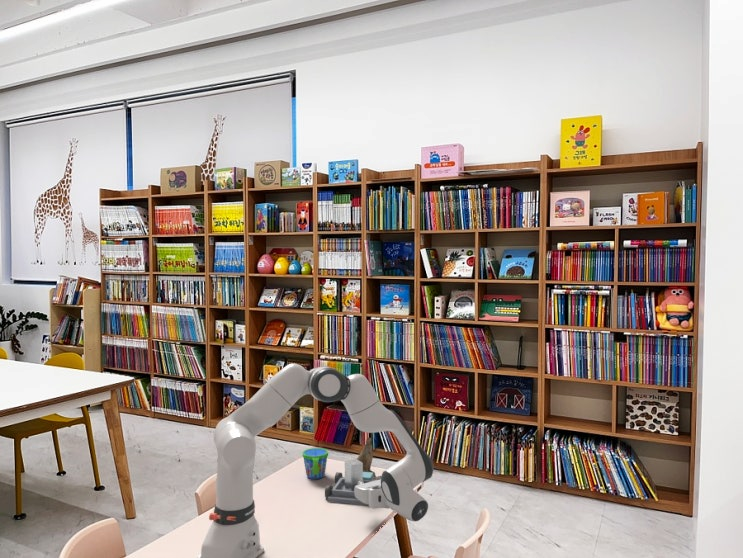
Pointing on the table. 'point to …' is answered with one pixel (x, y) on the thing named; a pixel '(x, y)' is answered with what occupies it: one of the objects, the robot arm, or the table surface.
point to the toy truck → (344, 495)
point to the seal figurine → (366, 456)
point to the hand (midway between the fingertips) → (370, 480)
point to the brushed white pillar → (353, 474)
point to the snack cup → (315, 462)
